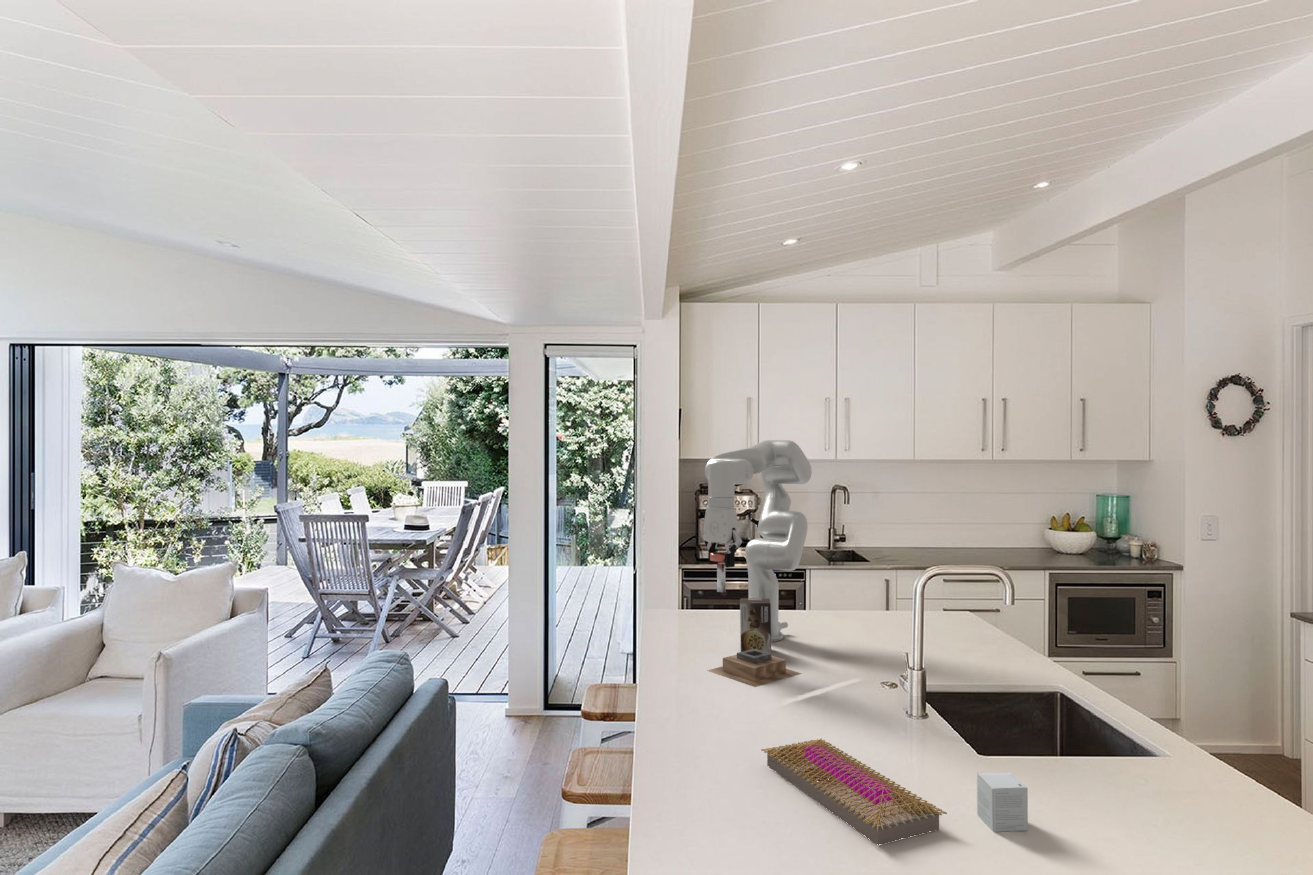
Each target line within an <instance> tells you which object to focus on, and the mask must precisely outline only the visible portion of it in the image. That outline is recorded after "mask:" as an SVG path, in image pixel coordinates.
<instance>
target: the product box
mask: <svg viewBox="0 0 1313 875" xmlns="http://www.w3.org/2000/svg"><path fill="white" fill-rule="evenodd" d="M976 774H977V775H976V776H977V777H976V814H977V817H979V819H981V821H983V823H984V824H985V825H986V826H987V827H988V828H989V829H990V830H991V831H992V832H993V833H995V832H997V833H998V832H999V833H1000V832H1022V831H1023V832H1024V831H1026V832H1027V831H1028V830H1029V823H1028V822H1029V821H1028V820H1029V818H1028V817H1029V815H1028V814H1029V813H1028V811H1029V810H1028V809H1029V807H1028V804H1029V803H1028V802H1029V801H1028V796H1029V795H1028V794H1029V793H1028V790H1029V788H1028V787H1027V786H1026V785H1025V784H1024V783H1023V782H1021V781H1020V780H1019V779H1018V778H1017V777H1016V776H1014V774H1013V773H1011V772H988V773H987V772H983V773H982V772H981V773H980V772H979V773H976Z"/></svg>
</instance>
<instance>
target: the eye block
mask: <svg viewBox="0 0 1313 875" xmlns="http://www.w3.org/2000/svg"><path fill="white" fill-rule="evenodd" d="M707 672H710V673H713V674H716V675H719V676H721V677H725V678H728V679H731V680H733V681H737V682H739V683H742V684H745V685H748V686H750V687H754V688H756V687H760V686H764V685H766V684H767V685H768V684H771V683H774V682H777V681H780V680H785V679H787V678H792V677H794V676H795V677H796V676H798V675H802V673H801V672H799V671H795V670H792V669H788V668H787V660H786V658H780V657H778V656H774V655H773V654H772V653H771V654H770V653H767V652H763V651H760V650H757V649H751V650H747V651H743V652H741V651H739V652H737V653H736V654H734V655H729V656H726V657H722V665H721V666H719V667H714V668H711V669H707Z"/></svg>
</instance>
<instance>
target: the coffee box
mask: <svg viewBox="0 0 1313 875" xmlns="http://www.w3.org/2000/svg"><path fill="white" fill-rule="evenodd" d="M739 612H740V613H739V615H740V616H739V619H740V620H739V621H740V622H739V623H740V625H739V627H740V628H739V629H740V631H739V632H740V633H739V634H740V636H739V637H740V645H739V646H740V651H739V652H743V651H747V650H751V649H757V650H760V651H763V652H767V653H770V654H772V642H771V602H770V599H762V598H749V597H748V598H745V597H743V598H740V599H739Z"/></svg>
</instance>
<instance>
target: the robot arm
mask: <svg viewBox="0 0 1313 875" xmlns="http://www.w3.org/2000/svg"><path fill="white" fill-rule="evenodd" d="M704 468H705V469H704V475H705V478H706V479H707V482H708V485H707V486H708V488H707V490H708V491H707V492H708V498H707V504H708V506H706V509H705V514H704V521H703V533H702V534H701V539H702V540H703V541H704V545H705V546H706V550H707V551H708V552H707V554H708V555H707V559H708V565H714V564H715V565H717V563H719V562H715V561H711V560H710V553H711V552H713V551H718V548H717V547H718V544H721V545H724V547H725V550H726V551H727V553H725V562H724V563H725V568H726V569H727V568H734V567H735V566H736V559H735V558H736V556H735V555H736V553H737V550H738V549H739V548H740V546H741V544H742V543H743V540H742V538H741V537H740V536H739V527H738V516H737V510H736V508H735V485H744V484H745V485H746V484H747V483H749V482H750V481H751V480H752V478H753V476H754V475H757V474H760V478H761V482H762V485H763V488H764V495H765V496H764V497H765V499H764V503H763V506H762V509H761V512H760V517H759V520H758V524H757V532H758V534H759V535H760V536H761V537H762V538H760V537H759V538H753V539H751V540H749V541H748V542H747V544H746V546H745V554H744V555H745V560H746V565H747V575H748V578H747V579H748V598H762V599H770V602H771V643H773V642H778V641H781V640H783V639H784V633H782V632H781V631H782V629H786V628H788V627H789V624H788V622H787V621H783V622H780V621H779V581H778V578H777V576H776V574H775V572H774V571H775V570H777V571H786V572H791V571H794V570H796V569H797V568H798V566H799V564H800V561H801V558H802V554H803V550H804V547H805V543H806V538H807V534H808V529H809V528H808V525H809V524H808V519H807V517H806V515H805V514H804V513H803V512H802V511H797V510H790V508H791V504H792V499H791V497H790V495H789V493H788V491H787V490H786V489H785V488H784V487H783V485H804V484H808V482H809V481H810V480H811V478H812V466H811V463H810V461H809V459H808V458H807V456H806V455H805V453H804V451H803V450H802V449H801V447H800V446H799V444H797V443H796V442H795V441H793V440H790V439H789V440H787V439H786V440H785V439H779V440H778V439H769V440H768V439H767V440H762V441H760V442H757V443H756V444H754V445H751V446H749V447H747V448H742V449H737V450H733V451H729V452H723V453H719V454H717V455H715V456H713V457H711V458H710V459H709V460H708V461H707V463H706V465H705V467H704ZM782 484H783V485H782ZM726 551H725V552H726ZM718 552H719V551H718Z"/></svg>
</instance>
